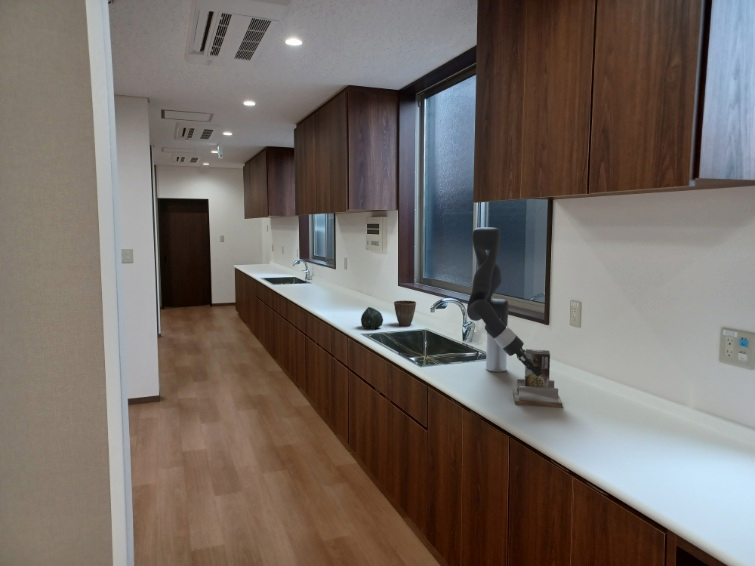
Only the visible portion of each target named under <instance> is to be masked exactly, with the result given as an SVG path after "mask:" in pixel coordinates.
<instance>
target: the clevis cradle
mask: <svg viewBox="0 0 755 566" xmlns="http://www.w3.org/2000/svg"><path fill="white" fill-rule="evenodd" d="M512 396H513V401H514V405H518V406H519V405H520V406H532V407H533V406H535V407H548V408H549V407H550V408H563V402H562V399H561V398H560V395H559V388H558V387H555V380H554V379H549V388H546V387H529V386H525V377H523V378H522V377H518V378H516V389H514V388H513V389H512Z"/></svg>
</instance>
